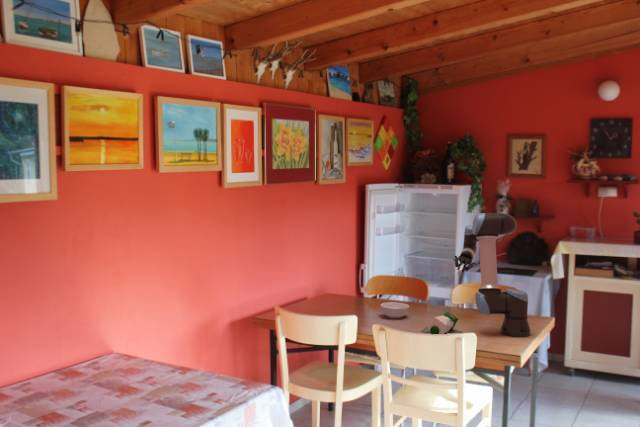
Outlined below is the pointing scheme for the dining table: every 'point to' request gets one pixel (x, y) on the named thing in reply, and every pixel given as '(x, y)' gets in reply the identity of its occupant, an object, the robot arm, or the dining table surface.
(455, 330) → the mat
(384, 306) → the cereal bowl
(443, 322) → the soya milk
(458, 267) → the robot arm
